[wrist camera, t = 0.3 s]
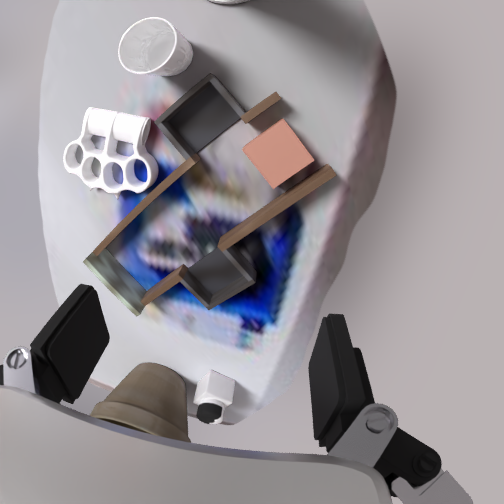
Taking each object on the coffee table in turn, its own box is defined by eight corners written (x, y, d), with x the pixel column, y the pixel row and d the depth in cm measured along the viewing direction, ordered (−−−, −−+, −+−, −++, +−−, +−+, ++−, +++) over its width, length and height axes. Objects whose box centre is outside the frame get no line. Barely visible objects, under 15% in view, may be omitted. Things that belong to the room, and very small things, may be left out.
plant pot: (100, 354, 67) (67, 416, 48) (166, 338, 61) (136, 418, 42) (153, 406, 77) (135, 464, 58) (220, 398, 71) (209, 468, 52)
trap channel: (74, 218, 48) (56, 231, 43) (243, 55, 34) (238, 46, 29) (173, 322, 58) (165, 341, 53) (355, 208, 44) (366, 222, 39)
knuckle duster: (171, 122, 40) (152, 205, 47) (81, 104, 38) (70, 180, 45) (164, 123, 37) (144, 212, 44) (70, 105, 35) (60, 186, 42)
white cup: (207, 55, 35) (190, 41, 26) (169, 89, 37) (142, 86, 28) (176, 24, 32) (151, 6, 23) (139, 59, 35) (107, 50, 26)
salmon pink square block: (244, 145, 41) (241, 149, 37) (282, 118, 39) (283, 119, 35) (273, 181, 44) (273, 188, 40) (310, 155, 41) (314, 160, 37)
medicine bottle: (197, 381, 68) (188, 419, 57) (210, 368, 65) (202, 409, 54) (221, 391, 69) (215, 430, 59) (236, 380, 66) (230, 420, 56)
